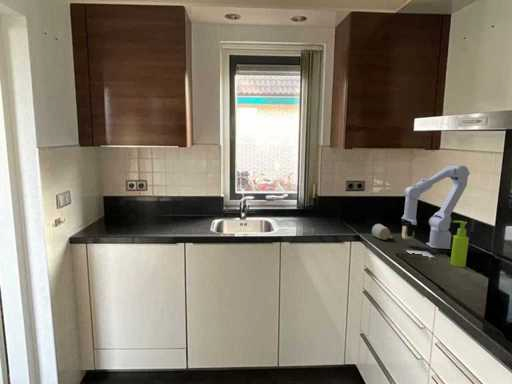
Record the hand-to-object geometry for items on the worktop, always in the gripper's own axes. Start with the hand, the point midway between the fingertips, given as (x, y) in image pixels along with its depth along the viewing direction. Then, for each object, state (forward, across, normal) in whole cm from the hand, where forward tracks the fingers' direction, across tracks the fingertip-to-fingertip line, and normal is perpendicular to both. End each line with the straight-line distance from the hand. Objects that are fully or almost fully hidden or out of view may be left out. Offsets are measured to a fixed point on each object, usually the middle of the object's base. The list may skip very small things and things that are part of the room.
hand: (408, 234), depth 179 cm
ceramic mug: (+6, -12, -9) cm, 17 cm away
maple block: (+2, 0, 0) cm, 2 cm away
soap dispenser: (+6, +26, +13) cm, 30 cm away
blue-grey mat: (+6, +15, 0) cm, 16 cm away
